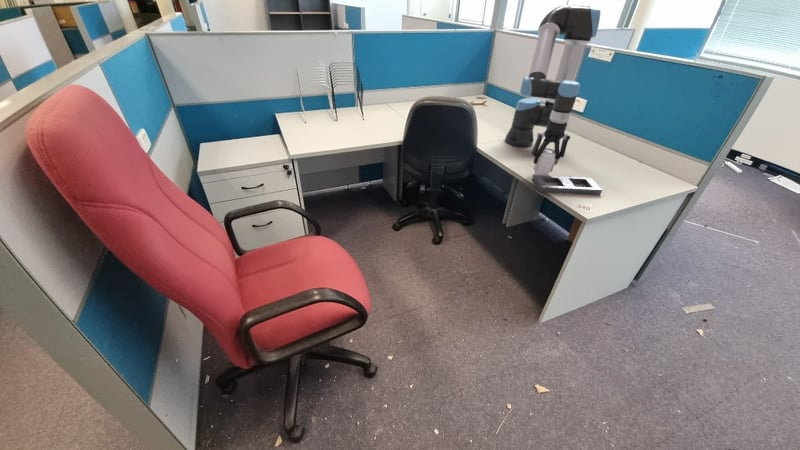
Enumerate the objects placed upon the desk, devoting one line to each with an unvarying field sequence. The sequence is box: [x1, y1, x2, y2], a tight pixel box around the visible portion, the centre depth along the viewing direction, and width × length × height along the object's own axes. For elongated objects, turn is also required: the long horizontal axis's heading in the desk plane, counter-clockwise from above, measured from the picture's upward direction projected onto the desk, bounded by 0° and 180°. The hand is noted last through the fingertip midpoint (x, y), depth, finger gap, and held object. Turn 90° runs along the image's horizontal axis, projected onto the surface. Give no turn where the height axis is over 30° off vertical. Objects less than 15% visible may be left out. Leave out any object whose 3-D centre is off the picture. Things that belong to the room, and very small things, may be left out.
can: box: [533, 147, 555, 176], centre depth 150 cm, size 6×6×12 cm
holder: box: [531, 174, 603, 196], centre depth 144 cm, size 11×26×2 cm, turn 88°
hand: (542, 170), depth 152 cm, fingers closed on can, 6 cm apart
